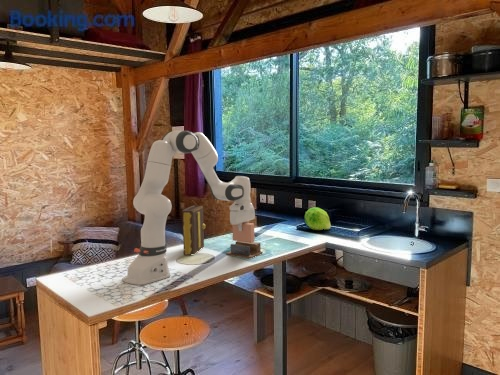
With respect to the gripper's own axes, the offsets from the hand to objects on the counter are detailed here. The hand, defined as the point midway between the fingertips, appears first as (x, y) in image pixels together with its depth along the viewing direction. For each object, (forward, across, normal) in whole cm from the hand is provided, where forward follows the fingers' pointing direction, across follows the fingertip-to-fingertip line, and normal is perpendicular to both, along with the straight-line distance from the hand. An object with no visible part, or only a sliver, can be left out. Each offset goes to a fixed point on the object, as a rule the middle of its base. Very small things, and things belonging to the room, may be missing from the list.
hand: (243, 230), depth 227 cm
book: (+14, +6, -30) cm, 34 cm away
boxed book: (+6, 0, 0) cm, 6 cm away
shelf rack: (+14, -1, 0) cm, 14 cm away
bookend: (+13, +3, 0) cm, 13 cm away
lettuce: (+14, -81, +10) cm, 83 cm away
